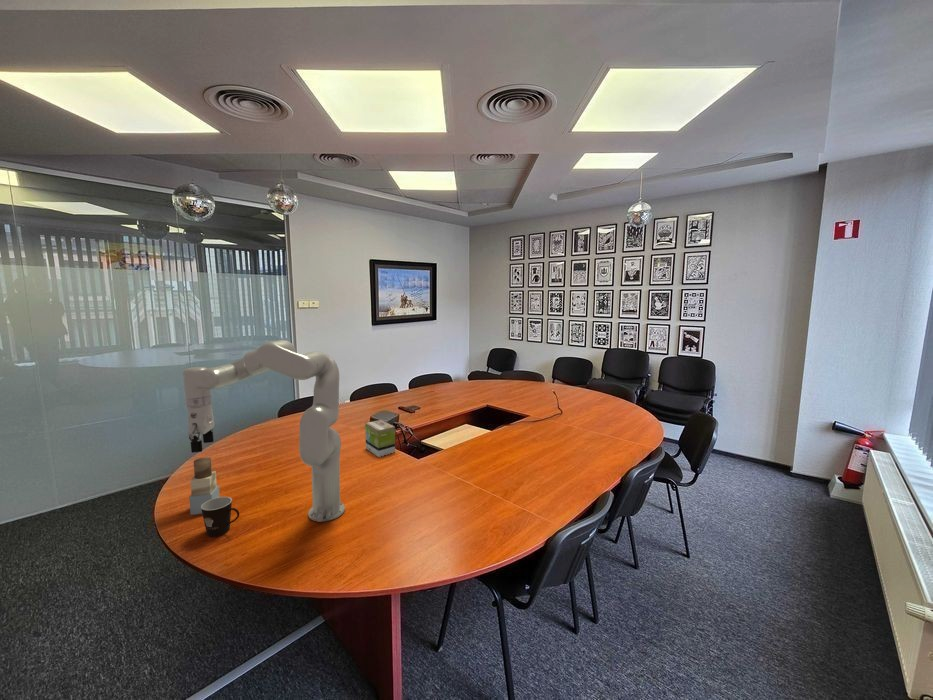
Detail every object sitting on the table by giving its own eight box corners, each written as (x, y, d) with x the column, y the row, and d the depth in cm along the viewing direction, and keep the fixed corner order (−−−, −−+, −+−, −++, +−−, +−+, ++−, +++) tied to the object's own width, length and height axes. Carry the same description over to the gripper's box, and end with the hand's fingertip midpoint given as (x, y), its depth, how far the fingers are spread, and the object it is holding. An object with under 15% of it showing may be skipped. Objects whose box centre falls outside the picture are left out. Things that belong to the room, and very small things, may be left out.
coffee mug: (198, 533, 123) (196, 504, 122) (226, 521, 130) (224, 494, 129) (214, 546, 117) (212, 516, 116) (242, 532, 124) (241, 504, 123)
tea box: (364, 449, 198) (364, 422, 196) (381, 444, 205) (381, 419, 203) (378, 458, 187) (378, 429, 185) (395, 453, 194) (395, 425, 192)
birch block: (210, 493, 135) (209, 478, 134) (191, 495, 133) (190, 480, 133) (216, 486, 141) (215, 471, 140) (198, 488, 139) (197, 472, 138)
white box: (212, 512, 135) (211, 494, 135) (190, 515, 134) (189, 496, 133) (219, 502, 142) (218, 485, 141) (198, 505, 140) (197, 487, 140)
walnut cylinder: (208, 478, 135) (207, 462, 134) (191, 479, 133) (190, 463, 133) (214, 472, 140) (213, 456, 139) (198, 473, 138) (197, 457, 138)
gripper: (200, 406, 126) (204, 454, 128) (219, 395, 143) (223, 438, 144) (174, 408, 124) (179, 457, 126) (197, 396, 141) (201, 440, 143)
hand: (203, 446), depth 135 cm, fingers open, 9 cm apart
